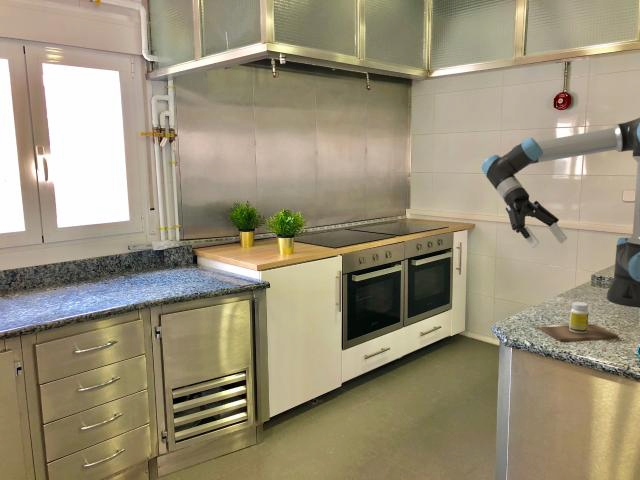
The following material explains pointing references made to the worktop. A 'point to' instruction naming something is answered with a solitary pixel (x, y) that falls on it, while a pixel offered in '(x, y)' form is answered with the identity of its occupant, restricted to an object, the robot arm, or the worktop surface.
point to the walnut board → (564, 334)
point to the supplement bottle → (579, 317)
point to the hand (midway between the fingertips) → (550, 243)
